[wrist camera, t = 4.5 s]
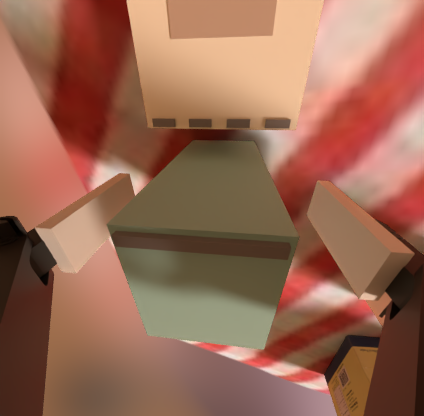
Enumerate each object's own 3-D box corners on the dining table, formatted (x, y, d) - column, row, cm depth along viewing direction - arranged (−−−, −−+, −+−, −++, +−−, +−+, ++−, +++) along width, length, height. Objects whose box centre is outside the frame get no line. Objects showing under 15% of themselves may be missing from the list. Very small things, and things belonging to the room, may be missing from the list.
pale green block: (193, 139, 15) (101, 228, 5) (254, 140, 15) (302, 242, 4) (196, 202, 18) (145, 340, 8) (246, 205, 18) (264, 355, 7)
